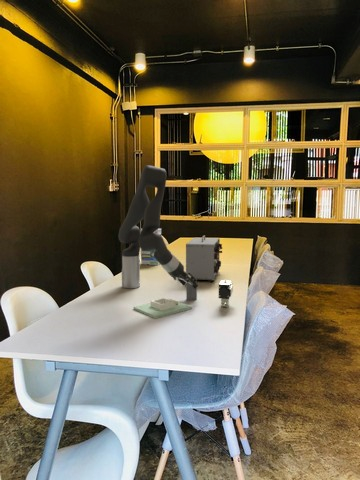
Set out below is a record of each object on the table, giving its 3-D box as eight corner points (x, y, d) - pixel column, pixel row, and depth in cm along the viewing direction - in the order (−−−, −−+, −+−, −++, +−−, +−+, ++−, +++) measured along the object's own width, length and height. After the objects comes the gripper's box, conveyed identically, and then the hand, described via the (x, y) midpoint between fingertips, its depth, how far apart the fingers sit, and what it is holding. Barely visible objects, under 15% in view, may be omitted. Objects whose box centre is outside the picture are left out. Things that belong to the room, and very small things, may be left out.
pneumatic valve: (217, 309, 162) (218, 282, 160) (221, 302, 173) (221, 276, 171) (230, 310, 160) (231, 283, 159) (233, 302, 172) (233, 277, 170)
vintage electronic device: (217, 283, 209) (217, 239, 206) (185, 281, 213) (185, 238, 210) (222, 271, 240) (222, 233, 237) (194, 270, 244) (194, 233, 241)
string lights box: (140, 264, 266) (140, 228, 262) (145, 262, 273) (144, 227, 270) (158, 265, 262) (157, 229, 258) (161, 263, 269) (161, 228, 266)
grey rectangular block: (191, 300, 175) (191, 280, 174) (186, 299, 178) (186, 278, 177) (196, 299, 178) (196, 278, 176) (191, 297, 180) (191, 277, 179)
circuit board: (155, 318, 150) (155, 310, 150) (133, 309, 162) (133, 301, 162) (191, 308, 163) (191, 300, 163) (168, 300, 175) (168, 293, 175)
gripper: (186, 260, 164) (205, 282, 172) (166, 256, 174) (185, 277, 183) (177, 274, 161) (196, 295, 170) (157, 269, 172) (176, 289, 180)
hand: (190, 285), depth 176 cm, fingers open, 8 cm apart
